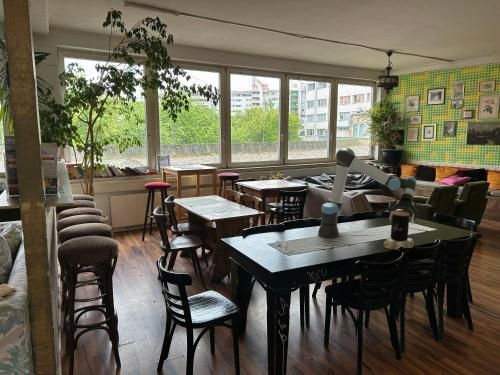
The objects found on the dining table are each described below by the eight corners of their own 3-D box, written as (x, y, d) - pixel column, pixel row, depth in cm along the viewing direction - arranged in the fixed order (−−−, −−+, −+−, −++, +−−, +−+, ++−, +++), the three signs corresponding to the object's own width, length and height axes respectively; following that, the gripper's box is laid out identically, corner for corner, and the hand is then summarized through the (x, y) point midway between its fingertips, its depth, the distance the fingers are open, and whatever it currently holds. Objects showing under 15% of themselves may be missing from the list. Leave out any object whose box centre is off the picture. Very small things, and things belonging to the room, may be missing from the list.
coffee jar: (387, 237, 248) (388, 211, 246) (399, 236, 252) (401, 210, 250) (398, 242, 239) (400, 215, 236) (411, 240, 242) (413, 214, 240)
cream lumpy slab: (383, 247, 244) (383, 240, 243) (389, 241, 257) (389, 234, 256) (409, 251, 235) (409, 244, 234) (413, 245, 248) (414, 238, 248)
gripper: (427, 201, 249) (421, 227, 239) (389, 197, 262) (382, 222, 252) (426, 194, 244) (421, 221, 233) (387, 191, 257) (380, 215, 247)
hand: (400, 221), depth 243 cm, fingers open, 13 cm apart
